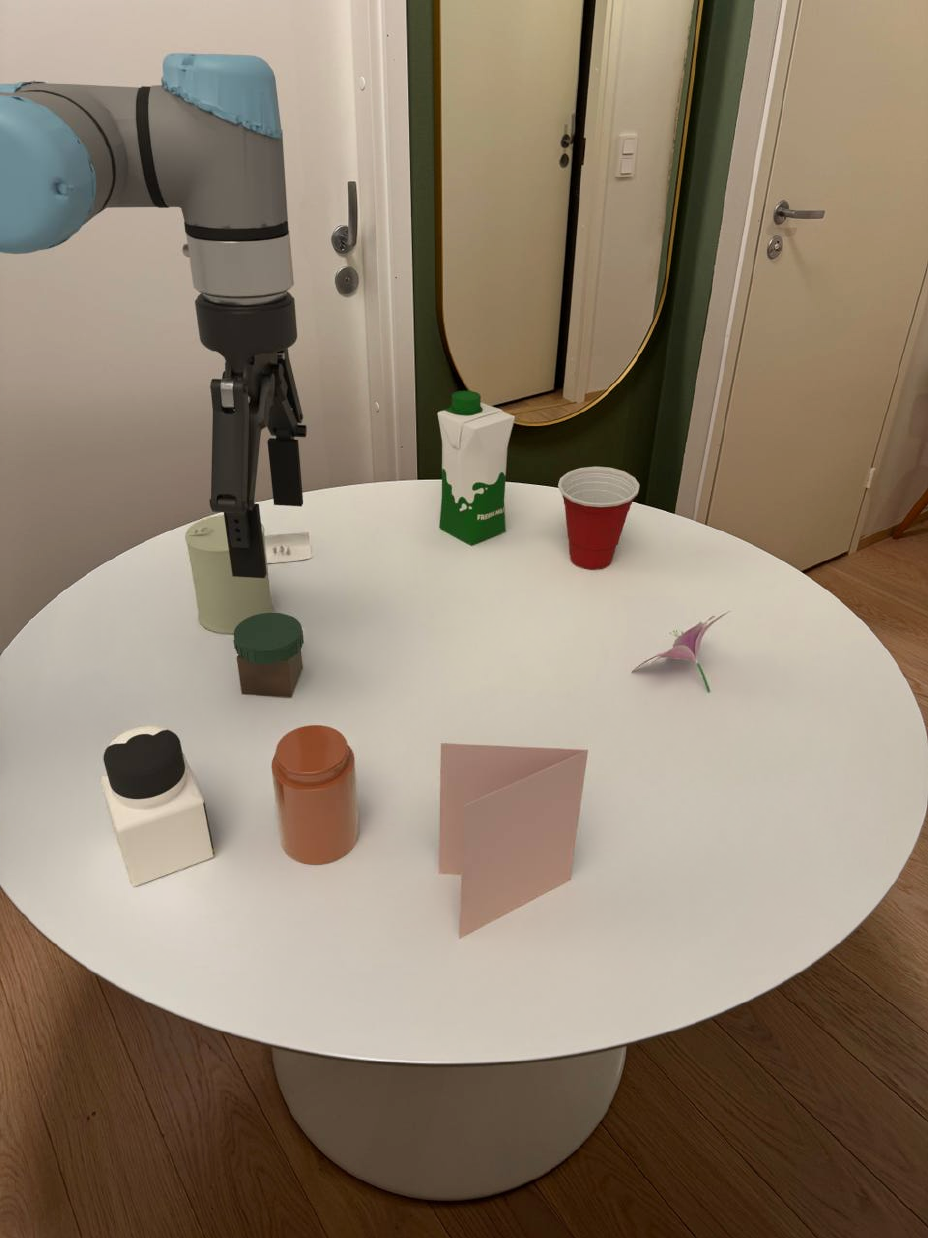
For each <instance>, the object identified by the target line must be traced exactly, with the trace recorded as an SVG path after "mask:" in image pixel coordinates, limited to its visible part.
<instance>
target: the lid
mask: <svg viewBox="0 0 928 1238" xmlns="http://www.w3.org/2000/svg"><path fill="white" fill-rule="evenodd" d="M232 635H233V640H232V641H233V647H234V648H233V649H234V650H235V653H236V655H237V656H238V655H239V656H240V657H241V658H242V659H244V660H246V661H249V662H252V663H258V664H271V663H277V662H281V661H284V660H287V659H289V658H291V657H293V656H294V655H296V654H297V653H298V652H299V651H300V650H301V651H302V649H303V645H304V644H305V641H304V639H305V638H304V629H303V625H302V624H301V622H300V620H298V619H297V618H296V617H294V616H293V615H289V614H287V613H282V612H273V613H262V614H257V615H254V616H251V617H249V618H247V619H245V620H243V621H242V622H240V623H239V624H238V625H237V626H236V628H235V630H234V633H233V634H232Z"/></svg>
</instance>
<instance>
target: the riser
mask: <svg viewBox="0 0 928 1238" xmlns="http://www.w3.org/2000/svg"><path fill="white" fill-rule="evenodd" d="M302 653H303V652H302V649H301V650H300V651H299V652H298V653H297V654H296V655H294V656H293V657H291V658H289V659H287V660H284V661H281V662H277V663H271V664H258V663H252V662H249V661H246V660H244V659H242V658H241V657H240V656H239V655H238V654H237V656H236V664H237V672H238V678H239V684H240V685H239V686H240V693H241V695H245V696H246V695H248V696H263V697H276V698H293V695H294V692H295V689H296V687H297V684H298V683H299V680H300V677H301V673H302V671H303V669H304V665H303V664H304V663H303V654H302Z"/></svg>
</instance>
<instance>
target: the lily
mask: <svg viewBox="0 0 928 1238" xmlns="http://www.w3.org/2000/svg"><path fill="white" fill-rule="evenodd" d="M730 612H731V610H729V611H727V612H725V613H724V614H722V615H720V616H718V617H716V615H713V616H710V617H709V618H708V619H707V620H706V621H705V622H702V621H699V622H698V623H697V624H696V625H694V626H692V627H691V628H689V629H687V630H686V631H684V632H683V631H681V634H679V633H678V630H672V632H669V634H670V635H672V636H674V637H675V640H674V641H673V643H672V648H670V649H668V650H667V651H664V652H661V653H658V654H655V655H653V656H652V657H650V658H648V659H646V660H645V661H642V662H641V663H640V664H638V666H636V667H635V668H634V669H632V672H635V671H636V670H637V669H638V668H640V667H641V666H643V665H645V664H647V662H649V661H651V660H653V659H654V660H653V661H651V662H650V663H649V665H652V664H653V663H656V662H657V661H658V660H659V659H675V660H676V659H677V660H686V661H693V662H694V663H695V665H696V666H697V668H698V670H699V673H700V675H701V677H702V680H703V682H704V685H705V688H706V690H707V693H711V689H710V686H709V683H708V681H707V678H706V674H705V673H704V671H703V668H702V666H701V664H700V661H699V659H698V655H699V649H700V645H701V642H702V639H703V637H704V636H705V633H706V632H707V630H708V629H709V628H710V627H711V626H712V625H713V624H715V623H716V622H717V621H719V620H720V619H721V618H723V617H724V616H725V615H727V614H729V613H730ZM715 617H716V618H715ZM714 618H715V619H714ZM710 620H712V621H710ZM709 621H710V622H709ZM708 622H709V623H708ZM673 633H674V634H673ZM655 658H656V659H655Z"/></svg>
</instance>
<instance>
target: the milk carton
mask: <svg viewBox="0 0 928 1238" xmlns="http://www.w3.org/2000/svg"><path fill="white" fill-rule="evenodd" d="M481 401H482V396H481V394H480V393H479V392H476V391H473V390H458V391H455V392H453V393H452V394H451V406H450V407H449V408H445V409H443V410H440V411H438V412H437V418H438V424H439V431H440V438H441V502H440V513H439V524H438V525H439V527H438V528H439V529H440V530H442V531H443V532H446V533H448V534H449V535H451V536H453V537H455V538H456V539H458V540H460V541H462V542H464V543H465V544H467V545H469V546H474V545H477V544H479V543H481V542H483V541H487V540H488V539H491V538H493V537H495V536H498V535H500V534H503V533H505V532H506V511H505V509H506V508H505V507H506V506H505V494H506V479H507V477H506V476H507V462H508V461H507V458H508V447H509V443H510V438H511V435H512V431H513V427H514V423H515V419H516V415H512V414H511V413H507V412H505V411H504V410H503V409H500V408H497V407H494V406H492V405H490V404H486V403H484V402H481Z"/></svg>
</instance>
